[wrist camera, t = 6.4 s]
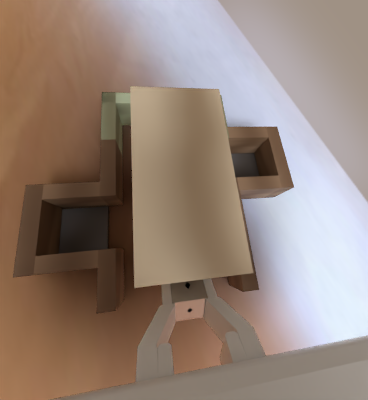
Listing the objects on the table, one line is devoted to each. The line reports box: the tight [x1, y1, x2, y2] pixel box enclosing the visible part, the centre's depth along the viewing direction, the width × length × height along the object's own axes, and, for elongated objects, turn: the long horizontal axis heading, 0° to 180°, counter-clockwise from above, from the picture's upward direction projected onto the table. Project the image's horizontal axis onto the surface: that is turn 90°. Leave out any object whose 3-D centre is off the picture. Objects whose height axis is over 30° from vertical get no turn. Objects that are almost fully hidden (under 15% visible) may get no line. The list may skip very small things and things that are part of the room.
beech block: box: [130, 86, 253, 288], centre depth 13 cm, size 5×10×9 cm, turn 5°
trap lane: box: [13, 92, 294, 314], centre depth 16 cm, size 22×18×3 cm
